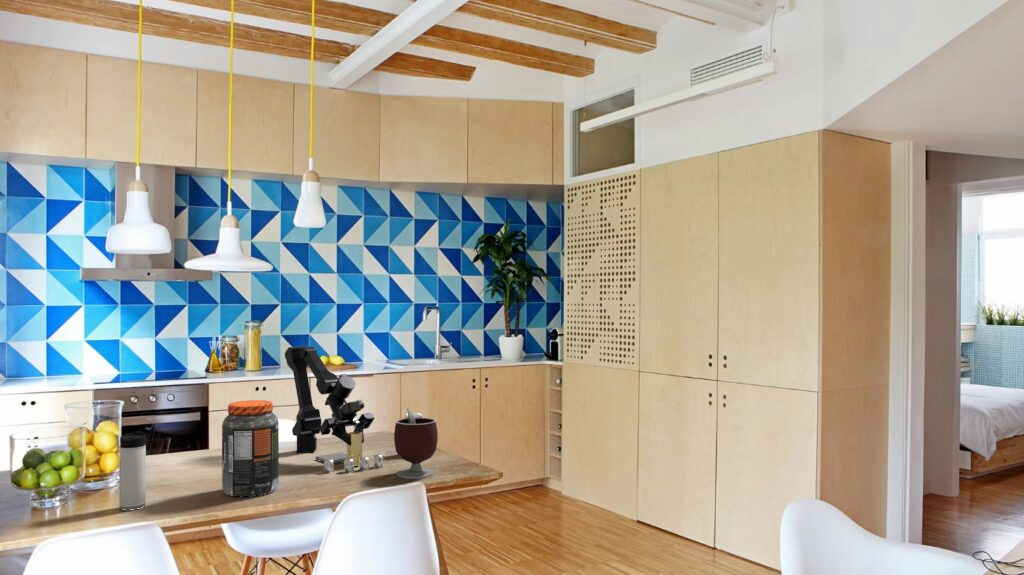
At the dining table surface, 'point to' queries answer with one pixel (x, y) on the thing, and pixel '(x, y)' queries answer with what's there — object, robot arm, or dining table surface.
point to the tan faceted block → (355, 447)
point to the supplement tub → (250, 449)
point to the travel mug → (132, 471)
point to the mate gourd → (415, 444)
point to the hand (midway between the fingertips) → (356, 443)
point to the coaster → (333, 457)
